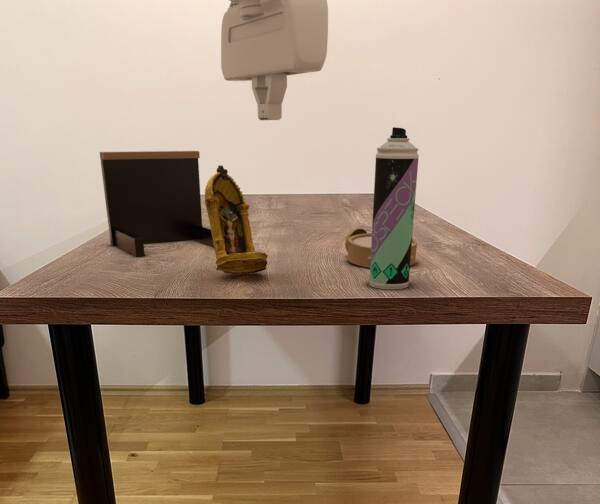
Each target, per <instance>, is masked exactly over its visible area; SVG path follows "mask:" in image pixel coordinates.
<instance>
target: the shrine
mask: <svg viewBox="0 0 600 504" xmlns="http://www.w3.org/2000/svg"><path fill="white" fill-rule="evenodd" d="M204 204H205V208H206V213H207V217H208V218H207V219H208V221H209V227H211V233H212V238H213V243H214V247H213V249H214V255H215V265H216V269H215V270H216V271H220V272H223V273H224V274H229V275H230V274H231V275H247V274H255V273H259V272H263V271H266V270H267V266H268V260H267V258H268V254H267V253H266V252H263V251H262V252H261V251H256V249H255V246H254V241H253V237H252V229H251V224H250V220H249V215H250V214H249V211H248V210H249V209H250V206H251V204H247V202H246V199H245V198H244V194H243V191H242V190H241V187H240V186H239V185H238V184H237V182H236V180H234V178H233V176H231V175H230V174H228V169H226V168H224V166H223V165H222V164H219V165H218V166H217V168H216V173H215V174H213V175H212V176H211V177H210V178H209V179H208V181H207V183H206V185H205V189H204Z"/></svg>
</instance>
